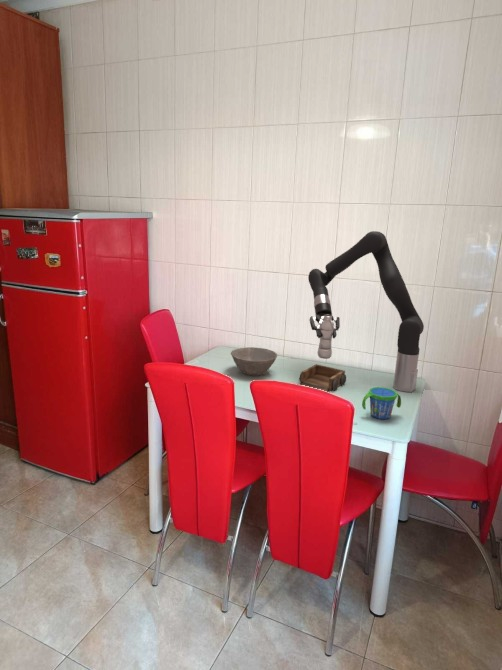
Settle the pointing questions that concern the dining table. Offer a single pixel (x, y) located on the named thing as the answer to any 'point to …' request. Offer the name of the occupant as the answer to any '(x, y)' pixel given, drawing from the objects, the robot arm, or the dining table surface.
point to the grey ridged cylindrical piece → (326, 337)
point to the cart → (323, 377)
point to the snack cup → (381, 402)
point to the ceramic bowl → (253, 360)
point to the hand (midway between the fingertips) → (327, 337)
